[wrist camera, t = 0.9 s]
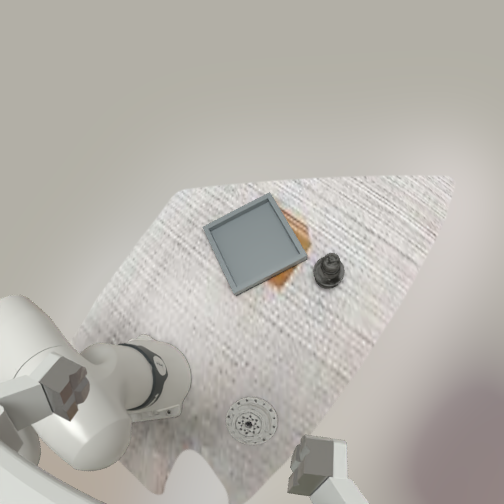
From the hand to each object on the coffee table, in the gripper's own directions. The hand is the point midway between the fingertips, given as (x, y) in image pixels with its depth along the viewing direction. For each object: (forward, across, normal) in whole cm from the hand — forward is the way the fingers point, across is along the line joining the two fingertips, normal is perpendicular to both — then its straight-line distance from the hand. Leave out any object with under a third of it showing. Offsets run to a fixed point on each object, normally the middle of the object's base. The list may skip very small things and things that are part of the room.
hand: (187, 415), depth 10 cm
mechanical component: (+32, +6, -43) cm, 54 cm away
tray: (+55, -3, -17) cm, 58 cm away
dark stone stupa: (+51, +13, -18) cm, 56 cm away
